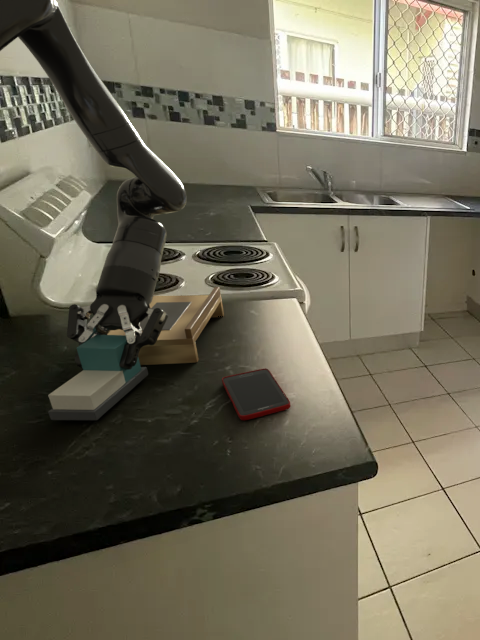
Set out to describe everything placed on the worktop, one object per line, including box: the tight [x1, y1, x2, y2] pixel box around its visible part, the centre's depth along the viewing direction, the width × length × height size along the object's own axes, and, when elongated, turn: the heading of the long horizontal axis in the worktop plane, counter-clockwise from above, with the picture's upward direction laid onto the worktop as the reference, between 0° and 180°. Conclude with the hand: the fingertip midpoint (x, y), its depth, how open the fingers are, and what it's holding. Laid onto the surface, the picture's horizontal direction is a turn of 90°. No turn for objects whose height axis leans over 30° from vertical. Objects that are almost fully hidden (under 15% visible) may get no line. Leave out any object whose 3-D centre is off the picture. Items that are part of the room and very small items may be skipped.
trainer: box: [48, 335, 149, 421], centre depth 75 cm, size 14×6×8 cm, turn 8°
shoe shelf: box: [107, 286, 225, 366], centre depth 96 cm, size 16×24×7 cm, turn 18°
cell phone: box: [221, 368, 292, 421], centre depth 81 cm, size 8×15×1 cm, turn 39°
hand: (104, 367), depth 76 cm, fingers closed on trainer, 5 cm apart
